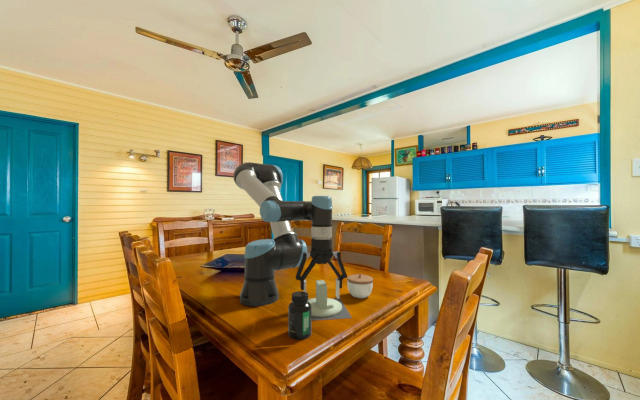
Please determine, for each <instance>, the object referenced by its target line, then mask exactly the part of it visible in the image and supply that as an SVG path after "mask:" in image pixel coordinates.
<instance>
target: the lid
mask: <svg viewBox="0 0 640 400" xmlns="http://www.w3.org/2000/svg"><path fill="white" fill-rule="evenodd" d="M308 302H309V303H310V304H311V306H312V317H318V318H325V317H332V316H335V315H338V314H339V313H340V312H341V311H342V304H341V303H340V302H339V301H337V300H334V298H329V297H328V285H327V283H326V282H325V280H324V279H320V280H315V297H313V298H309V300H308Z"/></svg>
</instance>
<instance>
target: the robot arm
mask: <svg viewBox="0 0 640 400" xmlns="http://www.w3.org/2000/svg"><path fill="white" fill-rule="evenodd" d="M232 178H233V181H234V183H235V185H236V187H238V188H239V189H240V190H244V191H245V192H246V193H247V195H248V196H249V197H250V198H251V199H252V200H253V201H254V203H256V205H257V206H258V207H259V215H260V219H261V220H262V221H263V222H266V223H270V228H271V232H272V235H273V238H272V239H271V238H266V239H265V238H264V239H257V240H253V241H250V242H248V243H247V244H246V245H245V248H244V254H243V255H244V280H243V281H244V282H243V284H242V287H241V290H240V294H239V303H240V304H241V305H243V306H246V307H263V306H269V305H271V304H274V303H276V302H277V301H278V300H279V297H280V295H279V289H278V287H277V284H276V283H277V282H276V280H275V272H276V271H280V270H286V269H287V270H288V269H296V268H297V271H296V274H295V280H297V281H299V282H300V286H299V287H300V291H303V292H307V280H306V279H307V277H308V276H309V274H310V272H311V271H312V270H313V269H314V267H315V266H316V264H317V265H326V264H328V265H329V266H330V268H331V270H332V271H333V272H334V274H335V276H337V278H335V297H336V298H337V299H339V298H340V289H342V288H343V281H344V280H345V279H347V277H348V274H347V272H346V269H345V267H344V264H343V261H342V259H341V258H342V257H341V252H340V251H338V250H337V251H333V239H332V237H333V199H332V196H330V195H313V196H312V197H311V200H310V201H309V200H306V201H305V200H300V201H299V200H293V201H291V200H284V199H283V197H282V195H281V190H280V189H281V187H282V184H283V183H284V182H283V181H284V174H283V172H282V169H281V168H280V167H279V166H277V165H274V164H270V163H268V164H265V163H258V162H250V161H249V162H244V163H242V164H239V165H238V166H237V167H236V168H235V169H234V172H233V177H232ZM295 221H296V222H298V221H309V222H310V221H311V230H310V231H311V240H310V241H311V244H310V245H311V246H310V249H311V250H310V252H308V246H307V244H306V242H305V240H303V239H302V238H301V239H300V238H299V236H298V234H297V233H296V232H294V231H293V230H292V229H293V228H292V226H291V223H290V222H295ZM333 256H334V258H335V259H336V261H337V264H338V267H339V269H340V271H341V272H339V270H338V269H337V268H336V267H335V264H333V262H332V260H331V259H332V257H333ZM310 257H311V260H310V263H309V264H308V266H307V267H306V268H305V265H306V262H307V260H308V259H309V258H310ZM304 268H305V270H304ZM303 270H304V272H303Z"/></svg>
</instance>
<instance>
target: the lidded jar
mask: <svg viewBox="0 0 640 400" xmlns="http://www.w3.org/2000/svg"><path fill="white" fill-rule="evenodd" d="M346 283H347V289H348V292H349V294H350V295H351V297H354V298H357V299H365V298H368V297H369V296H370V295H371V293H372V291H373V286H374V284H373V283H374V278H373V277H372V276H370V275H366V274H362V273H358V274H357V273H356V274H350V275H347V278H346Z"/></svg>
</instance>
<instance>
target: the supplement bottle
mask: <svg viewBox="0 0 640 400" xmlns="http://www.w3.org/2000/svg"><path fill="white" fill-rule="evenodd" d="M309 299H310V298H309V292H307V291H306V292H303V290H299V291H298V290H297V291H293V292H292V294H291V302H290V303H289V305H288V308H287V311H288V313H287V315H288V316H287V320H288V321H287V331H288V332H287V333H288V337H289V338H290V339H293V340H296V341H297V340H298V341H302V340H306V339H309V338H310V337H311V336H312V330H313V328H312V306H311V304H310V303H309V302H308V300H309Z"/></svg>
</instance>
